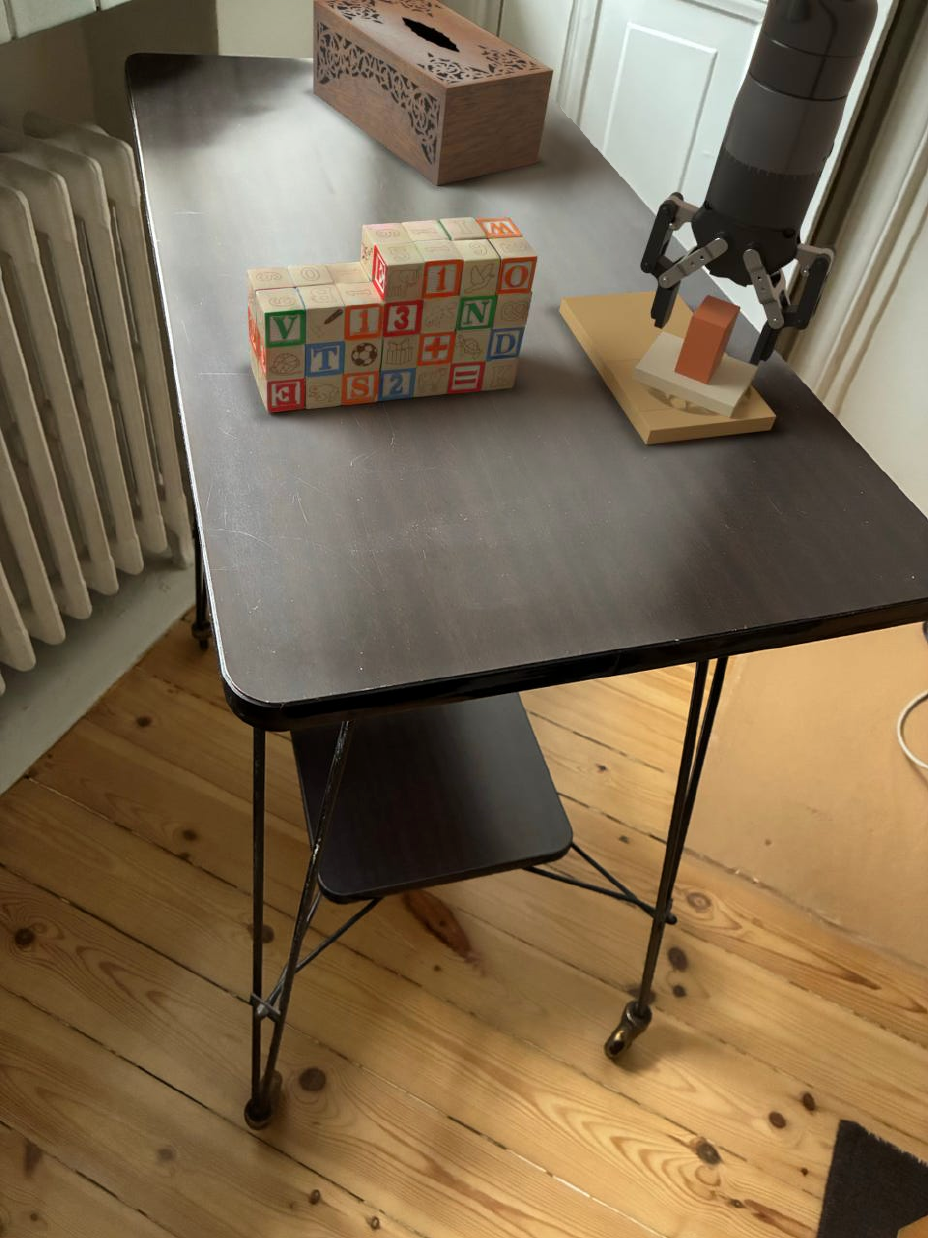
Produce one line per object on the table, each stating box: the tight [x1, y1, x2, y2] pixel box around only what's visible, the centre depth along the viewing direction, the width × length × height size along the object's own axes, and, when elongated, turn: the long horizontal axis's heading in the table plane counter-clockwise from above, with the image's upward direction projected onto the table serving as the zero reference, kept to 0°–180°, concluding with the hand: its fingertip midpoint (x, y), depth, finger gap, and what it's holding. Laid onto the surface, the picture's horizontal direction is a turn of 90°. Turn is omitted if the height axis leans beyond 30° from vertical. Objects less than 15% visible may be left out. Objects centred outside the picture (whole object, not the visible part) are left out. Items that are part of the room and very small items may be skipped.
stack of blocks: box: [246, 216, 539, 413], centre depth 78 cm, size 21×6×12 cm, turn 110°
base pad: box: [558, 290, 777, 446], centre depth 88 cm, size 20×12×2 cm, turn 18°
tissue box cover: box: [312, 0, 554, 186], centre depth 113 cm, size 26×14×10 cm, turn 37°
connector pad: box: [632, 294, 759, 418], centre depth 84 cm, size 9×7×8 cm
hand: (708, 342), depth 83 cm, fingers open, 8 cm apart
